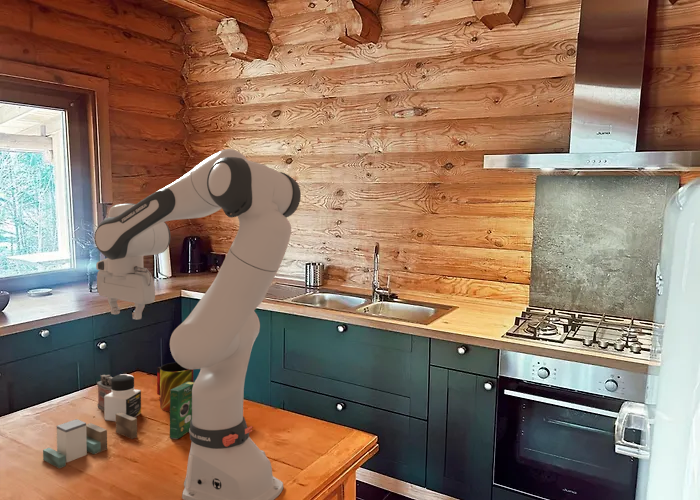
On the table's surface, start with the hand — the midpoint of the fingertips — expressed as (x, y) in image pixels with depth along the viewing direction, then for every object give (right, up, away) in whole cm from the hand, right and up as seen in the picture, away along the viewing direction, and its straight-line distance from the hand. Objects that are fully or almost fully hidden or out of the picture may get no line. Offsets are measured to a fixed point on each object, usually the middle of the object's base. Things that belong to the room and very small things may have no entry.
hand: (126, 316), depth 142 cm
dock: (-5, -32, -9) cm, 33 cm away
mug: (+5, -30, +21) cm, 37 cm away
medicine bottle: (-5, -30, +11) cm, 33 cm away
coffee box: (+15, -32, +1) cm, 35 cm away
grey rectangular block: (-8, -32, -13) cm, 36 cm away
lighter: (-12, -30, +16) cm, 36 cm away
